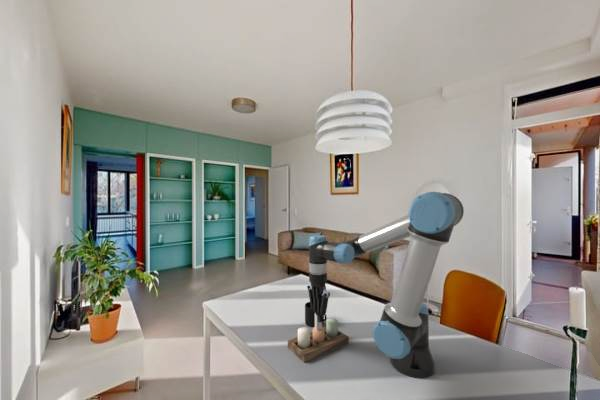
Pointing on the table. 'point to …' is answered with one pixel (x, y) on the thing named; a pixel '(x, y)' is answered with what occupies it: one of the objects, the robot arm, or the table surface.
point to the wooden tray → (318, 346)
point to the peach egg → (318, 335)
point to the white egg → (303, 338)
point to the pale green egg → (332, 327)
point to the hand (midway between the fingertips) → (318, 328)
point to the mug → (311, 316)
